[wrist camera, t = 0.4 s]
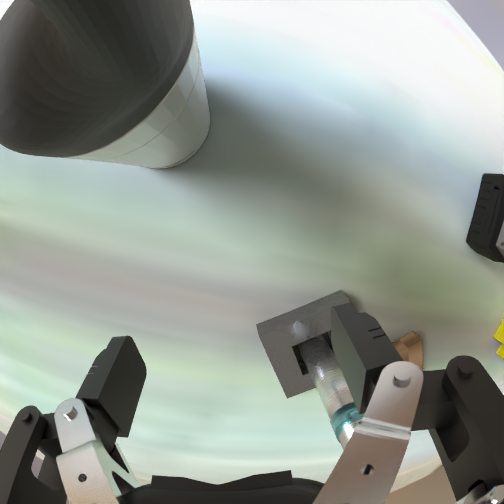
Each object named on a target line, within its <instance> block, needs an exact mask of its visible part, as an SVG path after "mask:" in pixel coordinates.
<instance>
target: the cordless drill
mask: <svg viewBox="0 0 504 504" xmlns="http://www.w3.org/2000/svg"><path fill="white" fill-rule="evenodd" d="M466 241H467V243H468V244H469V246H470V247H471V248H472V249H473V250H474V251H476V252H477V253H479V254H481V255H483V256H485V257H487V258H489V259H491V260H493V261H496V262H503V263H504V175H503V174H483V177H482V181H481V185H480V190H479V194H478V199H477V203H476V206H475V210H474V214H473V218H472V221H471V225H470V228H469V231H468V235H467V239H466Z"/></svg>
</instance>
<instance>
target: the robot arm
mask: <svg viewBox="0 0 504 504" xmlns="http://www.w3.org/2000/svg"><path fill="white" fill-rule="evenodd" d="M209 127H210V112H209V105H208V99H207V93H206V88H205V82H204V76H203V71H202V65H201V59H200V54H199V49H198V44H197V39H196V33H195V27H194V22H193V16H192V11H191V6H190V1H189V0H14V2H13V3H12V4H11V6H10V7H9V8H8V10H7V11H6V12H5V14H4V15H3V17H2V19H1V20H0V144H1V145H3V146H4V147H6V148H8V149H10V150H13V151H15V152H19V153H22V154H28V155H34V156H47V157H61V158H71V159H82V160H93V161H102V162H111V163H119V164H127V165H134V166H141V167H149V168H153V169H161V168H170V167H173V166H176V165H179V164H181V163H183V162H184V161H186V160H188V159H189V158H190V157H192V156H193V155H194V154H195V153H196V152H197V151H198V150H199V148H200V147H201V146H202V145H203V143H204V141H205V139H206V137H207V134H208V131H209ZM331 342H332V347H333V351H334V354H335V356H336V359H337V361H338V363H339V366H340V368H341V371H342V373H343V376H344V378H345V381H346V383H347V386H348V388H349V391H350V393H351V396H352V398H353V401H354V403H355V406H356V408H357V411H358V413H359V415H360V414H363V413H365V414H364V416H363V419H362V421H361V422H359V423H358V424H357V426H356V428H355V429H354V431H353V433H352V435H351V437H350V439H349V441H348V443H347V445H346V447H345V449H344V451H343V453H342V455H341V457H340V459H339V460H338V462H337V464H336V466H335V468H334V469H333V471H332V473H331V474H330V476H329V478H328V480H327V481H326V483H325V484H324V483H321V482H318V481H314V480H310V479H303V478H292V474H291V470H288V471H282V472H275V473H267V474H258V475H253V476H249V477H246V478H243V479H239V480H235V481H232V482H228V483H224V484H219V485H216V484H210V483H205V482H201V481H197V480H192V479H188V478H185V477H168V476H155V475H152V481H151V484H147V485H143V486H142V484H141V483H140V482H139V481H138V480H137V478H136V477H135V475H134V474H133V472H132V470H131V468H130V466H129V465H128V463H127V461H126V459H125V457H124V455H123V453H122V451H121V449H120V447H119V445H118V444H117V443H116V438H117V437H128V436H129V432H130V429H131V425H132V422H133V418H134V415H135V411H136V408H137V405H138V401H139V398H140V395H141V392H142V388H143V385H144V382H145V379H146V366H145V363H144V361H143V359H142V357H141V355H140V353H139V351H138V349H137V347H136V345H135V343H134V340H133V339H132V337H130V336H120V337H113V338H112V339H111V341H110V342H109V344H108V346H107V348H106V349H104V350H103V351H102V352H101V353H100V354H99V355H98V356H97V357H96V359H95V361H94V362H93V364H92V367H91V368H90V370H89V372H88V374H87V376H86V378H85V380H84V382H83V384H82V386H81V388H80V390H79V392H78V394H77V396H76V398H71V399H68V400H65V401H63V402H62V403H61V404H60V405H59V406H58V407H57V409H56V411H55V413H50V414H42V413H41V412H40V411H39V410H38V408H37V407H35V406H26V407H24V408H23V409H21V410H20V411H19V413H18V414H17V416H16V418H15V420H14V422H13V424H12V426H11V428H10V430H9V432H8V434H7V436H6V439H5V441H4V443H3V445H2V448H1V450H0V504H66V500H67V497H68V500H69V503H70V504H384V503H385V501H386V499H387V497H388V495H389V492H390V490H391V488H392V486H393V483H394V481H395V478H396V476H397V473H398V471H399V468H400V466H401V463H402V460H403V457H404V455H405V452H406V449H407V446H408V443H409V440H410V436H411V432H410V431H417V430H426V429H428V430H429V433H430V435H431V437H432V439H433V442H434V444H435V446H436V449H437V451H438V454H439V456H440V458H441V461H442V463H443V466H444V468H445V471H446V473H447V476H448V479H449V481H450V484H451V486H452V490H453V492H454V495H455V498H456V501H457V502H456V503H455V504H504V395H503V394H502V392H501V391H500V390H499V388H498V387H497V385H496V384H495V382H494V381H493V380H492V378H491V377H490V375H489V374H488V373H487V371H486V370H485V369H484V367H483V366H482V364H481V363H480V362H479V361H478V360H477V359H475V358H473V357H470V356H457V357H455V358H453V359H452V360H450V362H449V363H448V365H447V368H446V369H443V370H434V371H421V369H420V368H419V367H418V366H417V365H415V364H413V363H410V362H406V361H404V360H403V359H402V357H401V356H400V354H399V353H398V351H397V350H396V348H395V347H394V345H393V344H392V342H391V341H390V339H389V338H388V336H386V333H385V332H384V330H383V329H381V326H380V325H379V323H378V322H377V320H376V319H375V318H374V317H372V316H371V315H369V314H367V313H366V312H363V313H359V314H358V313H357V312H356V310H355V309H354V307H353V305H352V304H351V303H345V304H341V305H336V306H332V307H331ZM37 449H38V450H40V451H41V452H42V453H43V454H44V455H45V458H44V461H43V464H42V467H41V470H40V473H39V476H38V479H37V478H36V477H35V476H34V475H33V473H32V471H31V466H32V462H33V459H34V457H35V454H36V452H37Z"/></svg>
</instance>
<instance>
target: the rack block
mask: <svg viewBox="0 0 504 504" xmlns="http://www.w3.org/2000/svg"><path fill="white" fill-rule="evenodd" d="M392 344H393V345H394V347H395V348H396V350H397V351H398V353H399V354H400V356H401V357H402V359H403V360H404V361H406V362H410V363H413V364H415V365H417V366H418V367H419V368H420V369H421V371H423V344H422V339H421V338H420V337H419V336H418V335H416V334H415V333H414V332H413V331H412V332H411V333H409V334H407V335H405V336H404V337H402V338H400V339H398V340H396V341H394V342H393V343H392Z"/></svg>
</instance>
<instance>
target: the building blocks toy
mask: <svg viewBox="0 0 504 504" xmlns="http://www.w3.org/2000/svg"><path fill="white" fill-rule="evenodd" d="M494 338H495V339H497V340H498V341H499V342H501V343H502V344H501V345H500V347H499V349H498V350H497V352H496V353H497V354H498V355H499V356H500V357H502V358H503V359H504V319H503V320H502V322H501V324H500V326H499V328H498V330H497V331H496V333H495V335H494Z"/></svg>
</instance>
